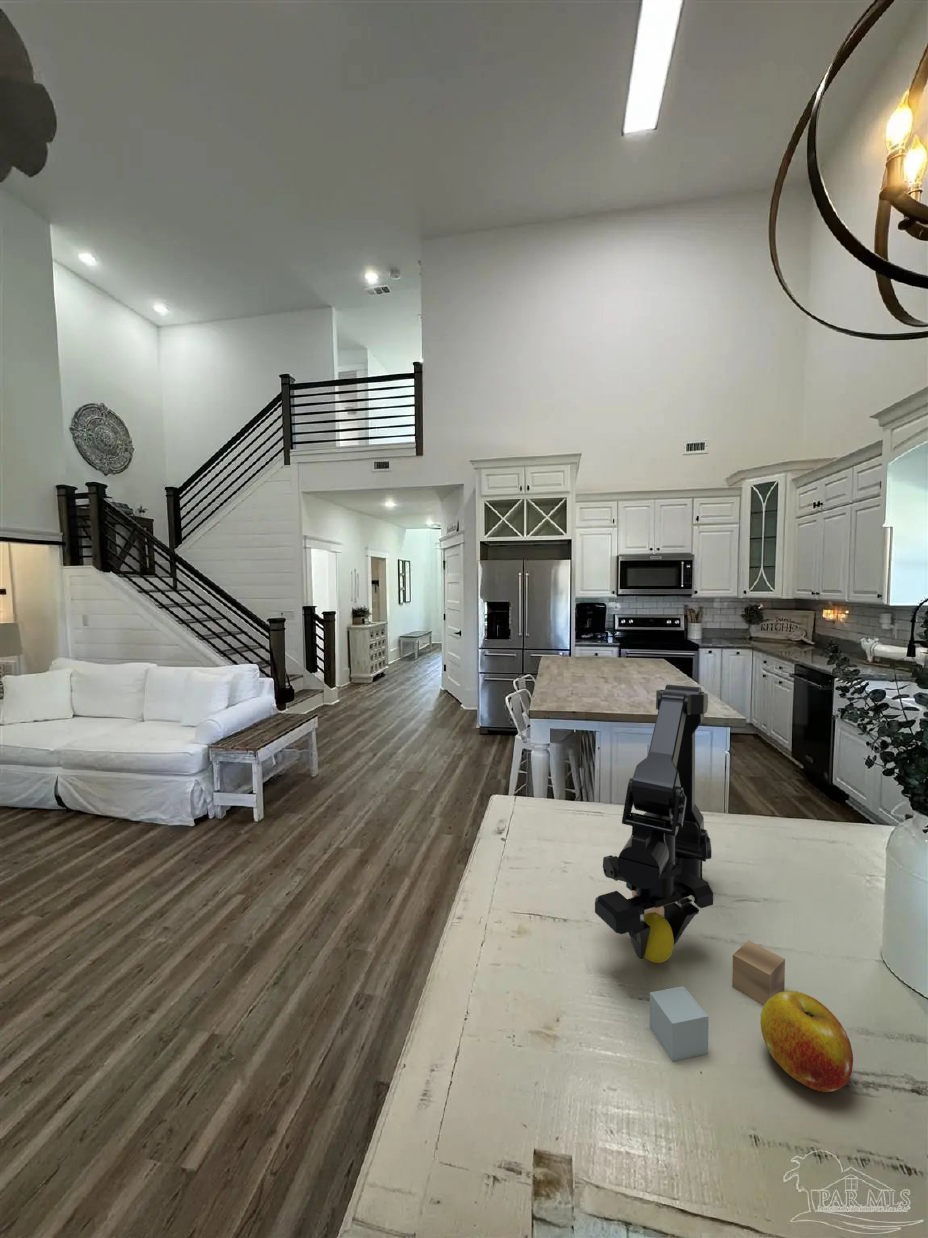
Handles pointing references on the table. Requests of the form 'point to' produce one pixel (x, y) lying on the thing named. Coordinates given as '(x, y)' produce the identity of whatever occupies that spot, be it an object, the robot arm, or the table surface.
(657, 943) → the lemon
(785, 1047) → the fruit
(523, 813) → the table surface
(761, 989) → the walnut block
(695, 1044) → the slate block
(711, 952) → the table surface
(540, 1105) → the table surface
